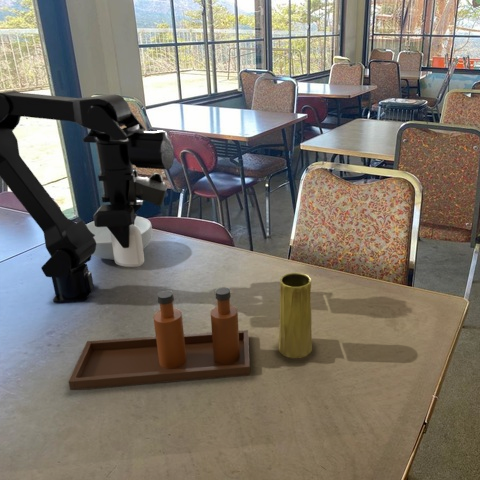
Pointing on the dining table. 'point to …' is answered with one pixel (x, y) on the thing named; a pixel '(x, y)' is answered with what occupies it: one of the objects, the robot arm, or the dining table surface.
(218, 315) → the amber bottle
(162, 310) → the amber bottle
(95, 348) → the tray
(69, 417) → the dining table surface
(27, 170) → the robot arm
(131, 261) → the eye dropper bottle
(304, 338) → the vase
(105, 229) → the cereal bowl
